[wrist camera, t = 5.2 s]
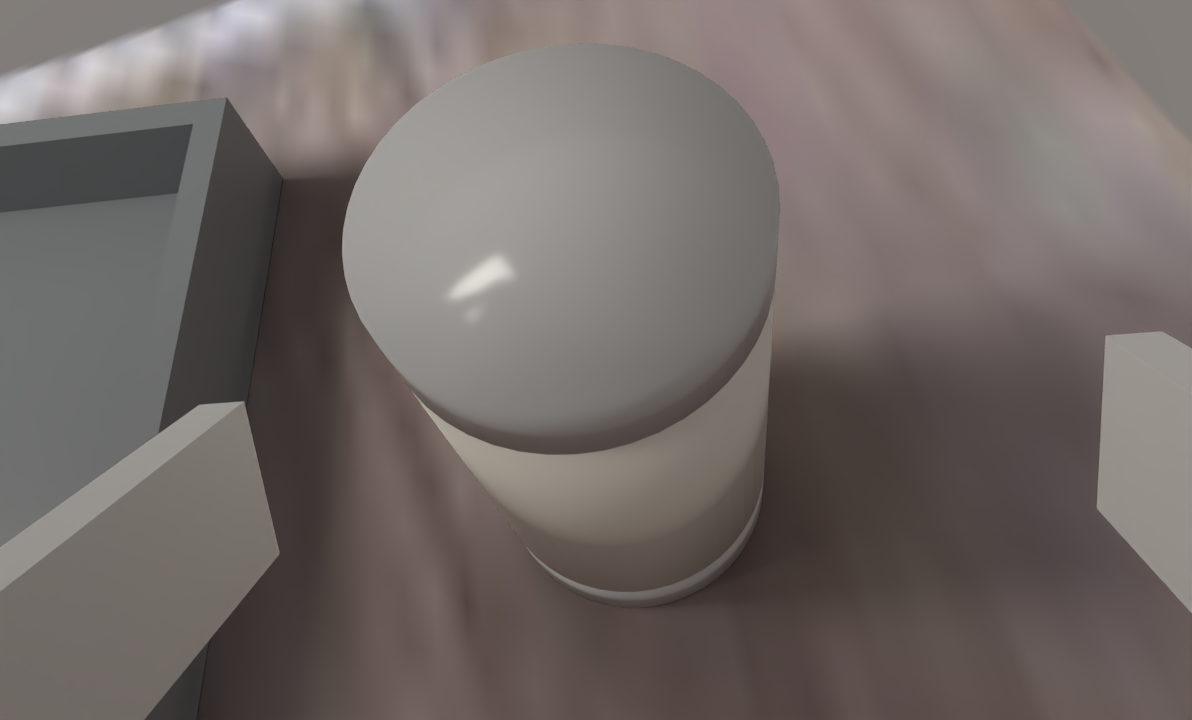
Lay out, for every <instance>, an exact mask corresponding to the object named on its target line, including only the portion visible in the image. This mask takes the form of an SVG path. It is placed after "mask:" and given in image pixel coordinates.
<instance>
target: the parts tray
mask: <svg viewBox="0 0 1192 720" xmlns="http://www.w3.org/2000/svg"><path fill="white" fill-rule="evenodd" d="M282 180H283V178H282V177H281V175H280V174H279V172H278V171H277V169H276V168H275V166H274V165H273V164H272V162H271V161H270V159H269V158H268V156H267V155H266V153H265V152H264V151H263V149H262V148H261V146H260V145H259V143H258V142H257V141H256V139H255V138H254V136H253V135H252V133H251V132H250V130H249V129H248V128H247V126H246V125H245V123H244V122H243V120H242V119H241V117H240V116H239V115H238V113H237V112H236V110H235V109H234V107H233V106H232V104H231V103H230V102H229V100H228V99H227V97H225V98H217V99H209V100H200V101H192V102H184V103H175V104H167V105H159V106H150V107H142V108H134V109H126V110H117V111H109V112H101V113H92V114H84V115H76V116H67V117H59V118H51V119H42V120H34V121H26V122H18V123H9V124H1V125H0V547H1V546H2V545H4V544H5V543H7V542H8V541H9V540H11V539H12V538H14V537H15V536H16V535H18V534H19V533H21V532H22V531H23V530H25V529H26V528H28V527H29V526H30V525H32V524H33V523H35V522H36V521H37V520H39V519H40V518H42V517H43V516H44V515H46V514H47V513H49V512H50V511H51V510H53V509H54V508H56V507H57V506H58V505H60V504H61V503H63V502H64V501H65V500H67V499H68V498H70V497H71V496H72V495H74V494H75V493H77V492H78V491H79V490H81V489H82V488H84V487H85V486H86V485H88V484H89V483H91V482H92V481H93V480H95V479H96V478H98V477H99V476H100V475H102V474H103V473H105V472H106V471H107V470H109V469H110V468H112V467H113V466H114V465H116V464H117V463H119V462H120V461H121V460H123V459H124V458H126V457H127V456H128V455H130V454H131V453H133V452H134V451H135V450H137V449H138V448H139V447H141V446H142V445H144V444H145V443H146V442H148V441H149V440H151V439H152V438H153V437H155V436H156V435H158V434H159V433H160V432H162V431H163V430H165V429H166V428H167V427H169V426H170V425H172V424H173V423H174V422H176V421H177V420H179V419H180V418H181V417H183V416H184V415H186V414H187V413H188V412H190V411H191V410H193V409H194V408H195V407H197V406H198V405H203V404H216V403H229V402H242V401H244V403H245V407H246V405H247V399H248V393H249V387H250V380H251V374H252V368H253V362H254V355H255V349H256V343H257V337H258V330H259V324H260V318H261V312H262V305H263V299H264V293H265V286H266V280H267V274H268V268H269V261H270V255H271V249H272V243H273V236H274V230H275V224H276V218H277V211H278V205H279V199H280V193H281V186H282ZM208 644H209V641H208V642H207V644H206V645H205V646H204V647H203V648H202V650H201V651H200V652H199V653H198V655H197V656H196V657H195V658H194V659H193V661H192V662H191V663H190V664H189V666H188V667H187V668H186V669H185V670H184V672H183V673H182V674H181V675H180V677H179V678H178V679H177V680H176V681H175V683H174V684H173V685H172V686H171V688H170V689H169V690H168V691H167V692H166V694H165V695H164V696H163V697H162V699H161V700H160V701H159V702H158V703H157V705H156V706H155V707H154V708H153V710H152V711H151V712H150V713H149V714H148V716H147V717H146V718H145V719H144V720H196V719H197V712H198V706H199V700H200V694H201V687H202V681H203V675H204V669H205V662H206V656H207V650H208Z"/></svg>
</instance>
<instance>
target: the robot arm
mask: <svg viewBox="0 0 1192 720" xmlns="http://www.w3.org/2000/svg"><path fill="white" fill-rule="evenodd" d="M1097 509H1098V510H1099V512H1100V513H1101V514H1102V515H1103V516H1104V517H1105V518H1106V519H1107V520H1108V521H1109V523H1110V524H1111V525H1112V526H1113V527H1114V528H1115V529H1116V530H1117V531H1118V532H1119V534H1120V535H1121V536H1122V537H1123V538H1124V539H1125V540H1126V541H1127V542H1128V544H1129V545H1130V546H1131V547H1132V548H1133V549H1134V550H1135V551H1136V552H1137V553H1138V555H1139V556H1140V557H1141V558H1142V559H1143V560H1144V561H1145V562H1146V563H1147V564H1148V566H1149V567H1150V568H1151V569H1152V570H1153V571H1154V572H1155V573H1156V574H1157V576H1158V577H1159V578H1160V579H1161V580H1162V581H1163V582H1164V583H1165V584H1166V585H1167V587H1168V588H1169V589H1170V590H1171V591H1172V592H1173V593H1174V594H1175V595H1176V597H1177V598H1178V599H1179V600H1180V601H1181V602H1182V603H1183V604H1184V605H1185V606H1186V608H1187V609H1188V610H1189V611H1190V612H1191V613H1192V348H1190V347H1188V346H1187V345H1185V344H1183V343H1181V342H1180V341H1178V340H1176V339H1175V338H1173V337H1171V336H1169V335H1168V334H1166V333H1164V332H1162V331H1159V332H1146V333H1132V334H1119V335H1106V337H1105V357H1104V376H1103V396H1102V415H1101V435H1100V455H1099V474H1098V494H1097ZM279 554H280V552H279V548H278V544H277V540H276V535H275V531H274V527H273V523H272V518H271V514H270V510H269V506H268V501H267V497H266V493H265V488H264V484H263V480H262V476H261V471H260V467H259V463H258V459H257V454H256V450H255V446H254V442H253V437H252V433H251V429H250V425H249V420H248V416H247V412H246V407H245V403H244V401H242V402H229V403H216V404H203V405H198V406H197V407H195V408H194V409H193V410H191V411H190V412H188V413H187V414H186V415H184V416H183V417H181V418H180V419H179V420H177V421H176V422H174V423H173V424H172V425H170V426H169V427H167V428H166V429H165V430H163V431H162V432H160V433H159V434H158V435H156V436H155V437H153V438H152V439H151V440H149V441H148V442H146V443H145V444H144V445H142V446H141V447H139V448H138V449H137V450H135V451H134V452H133V453H131V454H130V455H128V456H127V457H126V458H124V459H123V460H121V461H120V462H119V463H117V464H116V465H114V466H113V467H112V468H110V469H109V470H107V471H106V472H105V473H103V474H102V475H100V476H99V477H98V478H96V479H95V480H93V481H92V482H91V483H89V484H88V485H86V486H85V487H84V488H82V489H81V490H79V491H78V492H77V493H75V494H74V495H72V496H71V497H70V498H68V499H67V500H65V501H64V502H63V503H61V504H60V505H58V506H57V507H56V508H54V509H53V510H51V511H50V512H49V513H47V514H46V515H44V516H43V517H42V518H40V519H39V520H37V521H36V522H35V523H33V524H32V525H30V526H29V527H28V528H26V529H25V530H23V531H22V532H21V533H19V534H18V535H16V536H15V537H14V538H12V539H11V540H9V541H8V542H7V543H5V544H4V545H2V546H1V547H0V720H144V719H145V718H146V717H147V716H148V714H149V713H150V712H151V711H152V710H153V708H154V707H155V706H156V705H157V703H158V702H159V701H160V700H161V699H162V697H163V696H164V695H165V694H166V692H167V691H168V690H169V689H170V688H171V686H172V685H173V684H174V683H175V681H176V680H177V679H178V678H179V677H180V675H181V674H182V673H183V672H184V670H185V669H186V668H187V667H188V666H189V664H190V663H191V662H192V661H193V659H194V658H195V657H196V656H197V655H198V653H199V652H200V651H201V650H202V648H203V647H204V646H205V645H206V644H207V642H208V641H209V640H210V639H211V637H212V636H213V635H214V634H215V633H216V631H217V630H218V629H219V628H220V626H221V625H222V624H223V623H224V622H225V620H226V619H227V618H228V617H229V615H230V614H231V613H232V612H233V611H234V609H235V608H236V607H237V606H238V604H239V603H240V602H241V601H242V600H243V598H244V597H245V596H246V595H247V593H248V592H249V591H250V590H251V589H252V587H253V586H254V585H255V584H256V582H257V581H258V580H259V579H260V578H261V576H262V575H263V574H264V573H265V571H266V570H267V569H268V568H269V567H270V565H271V564H272V563H273V562H274V560H275V559H276V558H277V557H278V556H279Z"/></svg>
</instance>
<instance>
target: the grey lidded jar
mask: <svg viewBox="0 0 1192 720" xmlns="http://www.w3.org/2000/svg"><path fill="white" fill-rule="evenodd" d="M779 215H780V204H779V186H778V181H777V176H776V172H775V167H774V163H773V160H772V158H771V155H770V153H769V150H768V148H767V145H766V143H765V140H764V138H763V137H762V135H761V133H760V132H759V130H758V128H757V127H756V125H755V123H754V122H753V120H752V119H751V118H750V117H749V115H748V114H747V113H746V112H745V110H744V109H743V108H742V107H741V106H740V104H739V103H738V102H737V101H736V100H735V99H734V98H732V97H731V96H730V95H729V94H728V93H727V92H726V91H725V90H724V89H722V88H721V87H720V86H719V85H717V84H716V83H714V82H713V81H712V80H710V79H709V78H707V77H706V76H704V75H703V74H701V73H700V72H698V71H696V70H694V69H692V68H690V67H688V66H686V65H684V64H682V63H680V62H678V61H675V60H672V59H670V58H667V57H664V56H661V55H659V54H656V53H652V52H648V51H644V50H640V49H636V48H631V47H624V46H616V45H609V44H583V43H579V44H565V45H553V46H547V47H541V48H536V49H530V50H526V51H522V52H518V53H515V54H511V55H507V56H504V57H501V58H498V59H496V60H493V61H490V62H488V63H485V64H482V65H480V66H477V67H475V68H473V69H471V70H469V71H467V72H465V73H463V74H461V75H459V76H457V77H455V78H454V79H452V80H450V81H449V82H447V83H445V84H444V85H442V86H441V87H439V88H437V89H436V90H434V91H433V92H432V93H430V94H429V95H428V96H426V97H425V98H424V99H422V100H421V101H420V102H418V103H417V104H416V105H415V106H413V107H412V108H411V109H410V110H409V111H408V112H407V113H406V114H405V115H404V116H403V117H402V118H401V119H400V120H399V121H398V122H396V123H395V125H394V126H393V127H392V128H391V129H390V131H389V132H388V133H387V134H386V135H385V136H384V138H383V139H382V140H381V141H380V142H379V144H378V145H377V147H376V148H375V150H374V151H373V153H372V154H371V156H370V157H369V159H368V160H367V162H366V164H365V166H364V168H363V170H362V172H361V174H360V176H359V178H358V180H357V182H356V184H355V186H354V189H353V192H352V195H351V198H350V201H349V204H348V207H347V212H346V217H345V222H344V227H343V242H342V258H343V267H344V275H345V280H346V283H347V287H348V290H349V294H350V298H351V300H352V302H353V305H354V307H355V309H356V311H357V313H358V315H359V318H360V320H361V322H362V323H363V324H364V326H365V327H366V329H367V330H368V332H369V333H370V335H371V336H372V338H373V339H374V341H375V342H376V343H377V345H378V346H379V347H380V349H381V350H382V352H383V353H384V354H385V356H386V357H387V358H388V360H389V361H390V362H391V364H392V365H393V367H394V368H395V369H396V371H397V372H398V373H399V375H400V376H401V377H402V379H403V380H404V382H405V383H406V384H407V386H408V387H409V388H410V390H411V391H412V392H413V394H414V395H415V397H416V398H417V399H418V401H419V402H420V403H421V405H422V406H423V407H424V409H425V410H426V411H427V413H428V414H429V416H430V417H431V418H432V420H433V421H434V422H435V424H436V425H437V426H438V428H439V429H440V431H441V432H442V433H443V435H444V436H445V437H446V439H447V440H448V441H449V443H450V444H451V446H452V447H453V448H454V450H455V451H456V452H457V454H458V455H459V456H460V458H461V459H462V461H463V462H464V463H465V465H466V466H467V467H468V469H469V470H470V471H471V473H472V474H473V475H474V477H475V478H476V480H477V481H478V482H479V484H480V485H481V486H482V488H483V489H484V490H485V492H486V493H487V495H488V496H489V497H490V499H491V500H492V501H493V503H494V504H495V505H496V507H497V508H498V510H499V511H500V512H501V514H502V515H503V516H504V518H505V519H506V520H507V522H508V523H509V525H510V526H511V527H512V529H513V530H514V531H515V533H516V534H517V535H518V537H519V538H520V540H521V541H522V542H523V544H524V545H525V546H526V548H527V549H528V550H529V552H530V553H531V554H532V556H533V557H534V559H535V560H536V561H537V563H538V564H539V565H540V566H541V567H542V568H543V569H544V570H545V571H546V572H547V573H548V574H549V575H550V576H551V577H552V578H553V579H555V580H556V581H557V582H558V583H559V584H561V585H562V586H564V587H566V588H567V589H569V590H570V591H572V592H574V593H575V594H578V595H580V596H582V597H585V598H587V599H589V600H592V601H595V602H599V603H602V604H606V605H612V606H618V607H640V608H641V607H650V606H658V605H662V604H666V603H670V602H674V601H677V600H679V599H682V598H684V597H687V596H689V595H692V594H694V593H695V592H697V591H699V590H701V589H702V588H704V587H706V586H707V585H709V584H710V583H711V582H713V581H714V580H715V579H717V578H718V577H719V576H721V575H722V574H723V573H724V572H725V571H726V570H727V569H728V568H729V567H730V566H731V565H732V564H733V563H734V561H735V560H736V559H737V557H738V556H739V555H740V553H741V552H742V551H743V549H744V548H745V546H746V544H747V542H748V541H749V539H750V537H751V535H752V533H753V530H754V528H755V525H756V523H757V520H758V516H759V512H760V508H761V504H762V495H763V482H764V466H765V449H766V432H767V416H768V399H769V382H770V366H771V349H772V332H773V315H774V299H775V282H776V265H777V249H778V232H779Z"/></svg>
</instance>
